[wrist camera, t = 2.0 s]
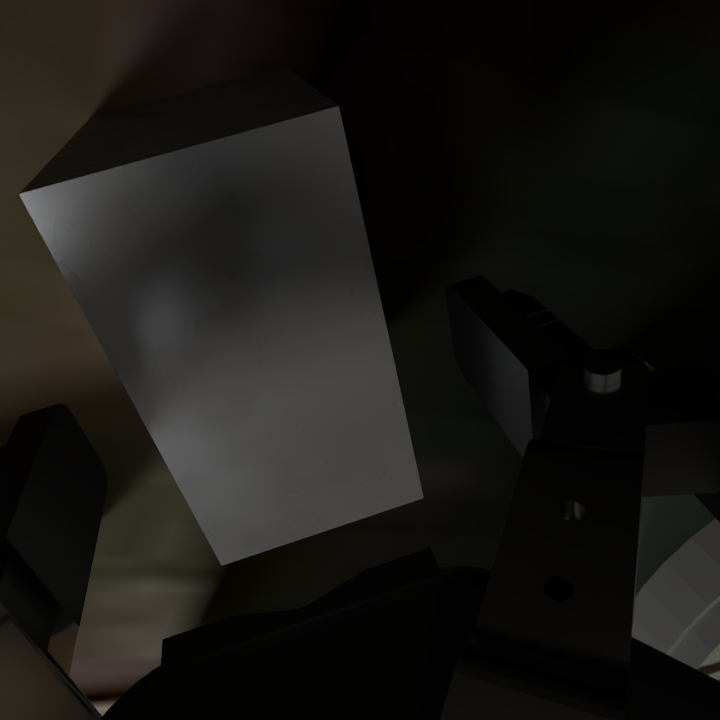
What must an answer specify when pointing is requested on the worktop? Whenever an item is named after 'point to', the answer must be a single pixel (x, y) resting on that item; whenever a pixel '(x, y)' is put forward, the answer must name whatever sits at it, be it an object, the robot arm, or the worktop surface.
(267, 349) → the block
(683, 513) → the food container
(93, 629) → the worktop surface
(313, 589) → the worktop surface
